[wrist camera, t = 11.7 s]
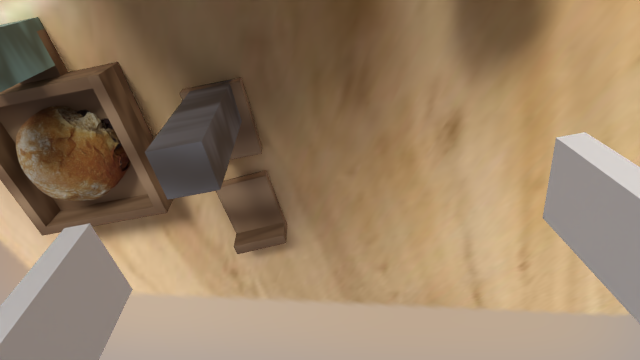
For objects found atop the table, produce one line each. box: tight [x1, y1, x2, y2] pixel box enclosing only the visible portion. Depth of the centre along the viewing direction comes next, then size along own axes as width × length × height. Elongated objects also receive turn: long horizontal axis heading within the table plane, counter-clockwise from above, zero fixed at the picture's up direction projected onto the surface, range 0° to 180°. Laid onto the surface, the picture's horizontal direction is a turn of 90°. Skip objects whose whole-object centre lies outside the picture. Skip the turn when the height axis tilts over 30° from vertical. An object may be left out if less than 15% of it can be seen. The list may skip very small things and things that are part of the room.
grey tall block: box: [145, 78, 262, 199], centre depth 34 cm, size 8×6×14 cm
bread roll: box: [16, 106, 130, 201], centre depth 38 cm, size 10×10×8 cm
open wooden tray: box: [0, 17, 173, 235], centre depth 33 cm, size 20×14×14 cm
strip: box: [216, 171, 287, 254], centre depth 44 cm, size 8×6×4 cm
